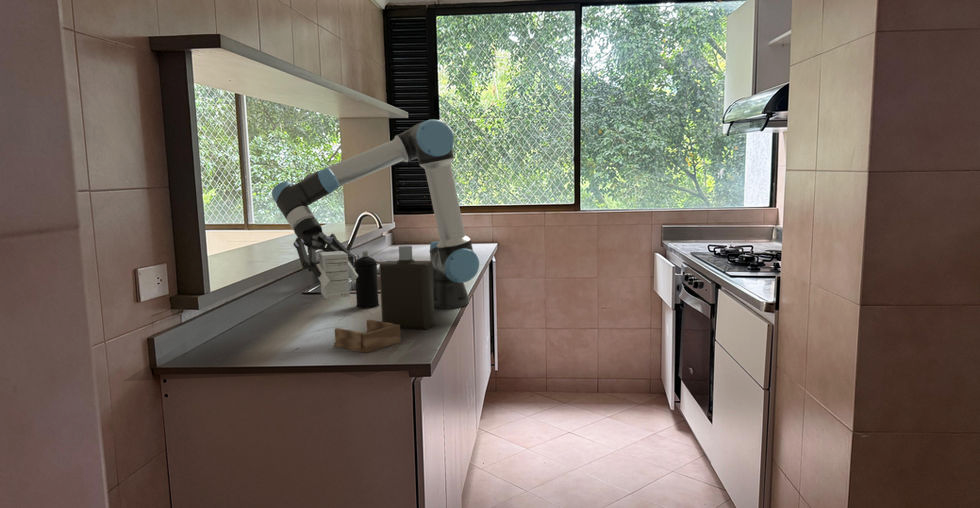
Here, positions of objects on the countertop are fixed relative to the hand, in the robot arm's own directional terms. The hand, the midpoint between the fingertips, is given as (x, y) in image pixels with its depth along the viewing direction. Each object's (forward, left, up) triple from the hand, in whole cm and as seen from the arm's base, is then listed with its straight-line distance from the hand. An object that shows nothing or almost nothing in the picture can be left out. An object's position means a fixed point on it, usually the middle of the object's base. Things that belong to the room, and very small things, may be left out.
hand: (341, 281), depth 187 cm
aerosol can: (-1, -45, -17) cm, 48 cm away
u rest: (-8, +8, -17) cm, 20 cm away
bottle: (-18, -12, -17) cm, 27 cm away
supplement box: (+2, -2, -5) cm, 6 cm away
